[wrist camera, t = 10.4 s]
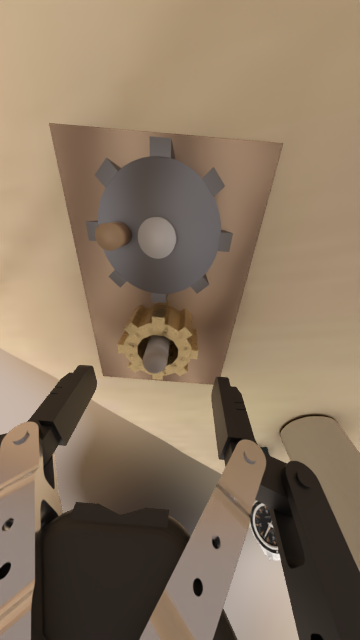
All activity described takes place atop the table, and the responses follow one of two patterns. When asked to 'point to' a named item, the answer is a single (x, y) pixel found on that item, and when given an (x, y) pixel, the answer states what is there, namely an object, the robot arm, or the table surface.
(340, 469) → the travel mug
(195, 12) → the table surface
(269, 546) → the watch
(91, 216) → the gear board
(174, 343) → the brass gear
